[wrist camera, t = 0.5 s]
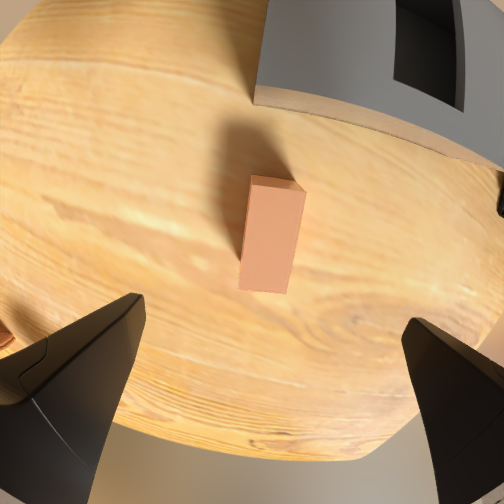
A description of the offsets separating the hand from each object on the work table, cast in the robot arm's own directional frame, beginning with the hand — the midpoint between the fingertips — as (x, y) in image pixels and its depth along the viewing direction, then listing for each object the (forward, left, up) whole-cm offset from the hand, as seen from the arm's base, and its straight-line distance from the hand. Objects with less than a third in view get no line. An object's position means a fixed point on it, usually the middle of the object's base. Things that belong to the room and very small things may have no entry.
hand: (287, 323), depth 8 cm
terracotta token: (0, +1, -12) cm, 12 cm away
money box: (-6, -13, -12) cm, 19 cm away
